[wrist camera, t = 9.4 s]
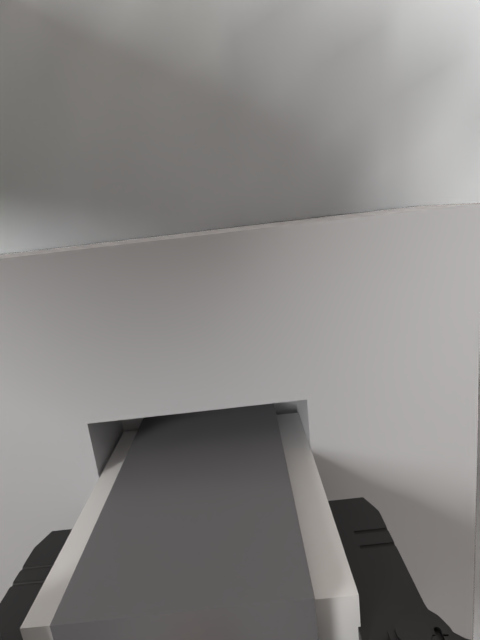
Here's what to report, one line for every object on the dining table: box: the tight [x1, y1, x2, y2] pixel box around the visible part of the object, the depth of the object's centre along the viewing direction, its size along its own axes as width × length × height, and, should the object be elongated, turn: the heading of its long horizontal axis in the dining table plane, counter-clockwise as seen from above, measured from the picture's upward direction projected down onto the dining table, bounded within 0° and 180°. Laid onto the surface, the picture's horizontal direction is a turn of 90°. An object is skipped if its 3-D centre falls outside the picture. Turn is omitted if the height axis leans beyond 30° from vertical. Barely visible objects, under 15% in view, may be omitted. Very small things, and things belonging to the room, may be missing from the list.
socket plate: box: [0, 203, 480, 640], centre depth 13 cm, size 14×14×4 cm
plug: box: [50, 403, 319, 640], centre depth 10 cm, size 4×4×8 cm
